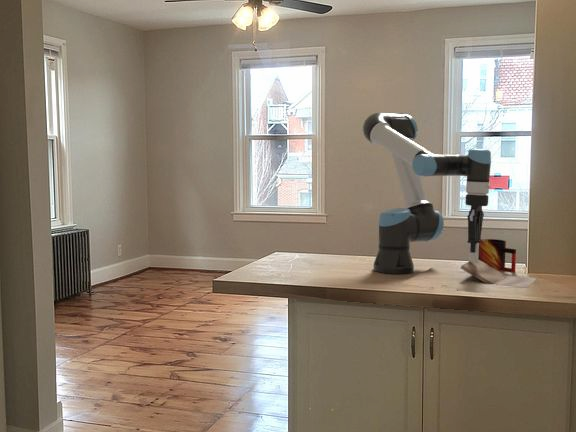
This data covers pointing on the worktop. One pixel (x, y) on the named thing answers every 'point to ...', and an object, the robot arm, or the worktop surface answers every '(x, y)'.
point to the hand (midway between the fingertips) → (473, 261)
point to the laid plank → (516, 281)
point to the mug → (496, 254)
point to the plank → (483, 272)
